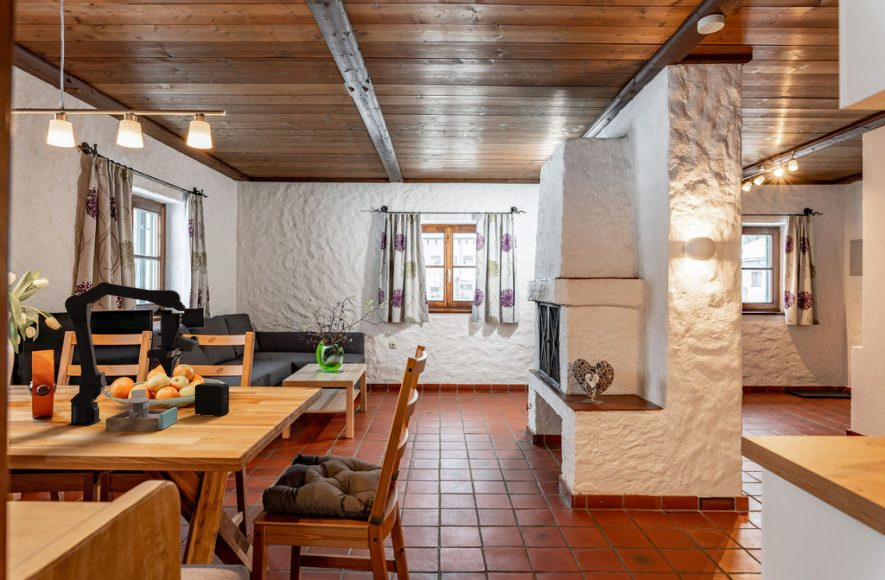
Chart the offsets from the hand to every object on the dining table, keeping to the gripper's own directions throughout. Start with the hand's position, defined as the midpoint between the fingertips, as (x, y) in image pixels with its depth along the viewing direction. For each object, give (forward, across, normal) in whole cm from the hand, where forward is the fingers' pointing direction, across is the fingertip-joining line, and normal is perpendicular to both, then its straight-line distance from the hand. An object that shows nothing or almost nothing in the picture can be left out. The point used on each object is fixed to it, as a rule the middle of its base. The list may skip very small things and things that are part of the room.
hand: (169, 377), depth 177 cm
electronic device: (+13, +4, -12) cm, 18 cm away
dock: (+13, -11, +3) cm, 17 cm away
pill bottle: (+12, -11, +4) cm, 17 cm away
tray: (+13, -11, +1) cm, 17 cm away
